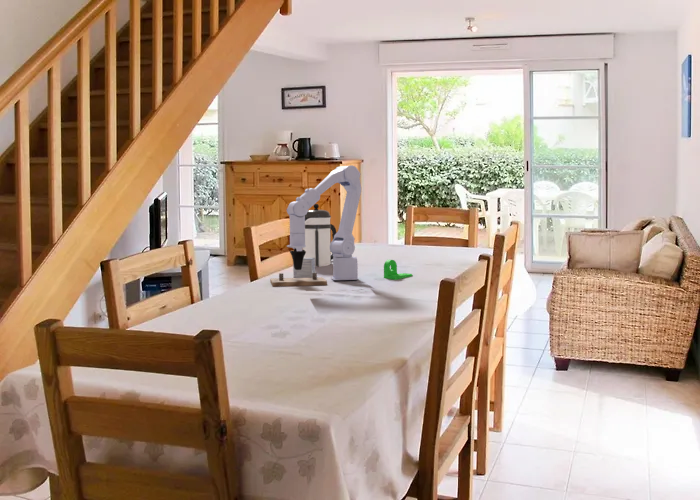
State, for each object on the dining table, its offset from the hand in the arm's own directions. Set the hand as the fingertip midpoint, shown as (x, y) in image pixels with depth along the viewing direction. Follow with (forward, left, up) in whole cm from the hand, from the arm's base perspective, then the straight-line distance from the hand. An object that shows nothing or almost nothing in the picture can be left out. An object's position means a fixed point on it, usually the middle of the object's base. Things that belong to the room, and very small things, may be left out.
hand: (297, 269), depth 291 cm
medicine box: (-4, -16, -6) cm, 17 cm away
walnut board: (0, 0, -5) cm, 5 cm away
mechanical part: (-41, -8, -6) cm, 42 cm away
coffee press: (-13, -46, -6) cm, 48 cm away
